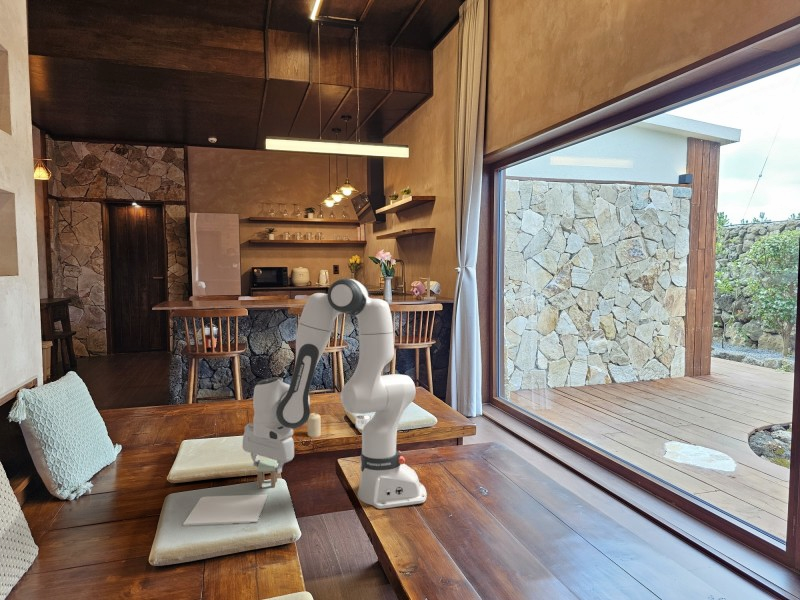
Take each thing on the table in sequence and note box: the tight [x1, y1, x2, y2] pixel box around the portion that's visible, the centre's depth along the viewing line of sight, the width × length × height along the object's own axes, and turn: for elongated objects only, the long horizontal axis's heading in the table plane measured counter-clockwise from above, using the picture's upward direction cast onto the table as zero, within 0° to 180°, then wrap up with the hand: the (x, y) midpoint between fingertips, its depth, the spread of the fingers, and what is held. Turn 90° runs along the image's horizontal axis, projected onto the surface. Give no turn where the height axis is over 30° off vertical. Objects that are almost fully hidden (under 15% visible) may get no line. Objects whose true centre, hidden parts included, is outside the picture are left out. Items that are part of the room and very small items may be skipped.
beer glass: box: [354, 414, 372, 430], centre depth 219 cm, size 7×7×15 cm
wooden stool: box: [256, 459, 278, 489], centre depth 160 cm, size 6×6×7 cm
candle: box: [306, 412, 322, 438], centre depth 205 cm, size 6×6×10 cm
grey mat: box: [182, 493, 269, 527], centre depth 143 cm, size 20×16×1 cm
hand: (267, 469), depth 160 cm, fingers open, 8 cm apart
